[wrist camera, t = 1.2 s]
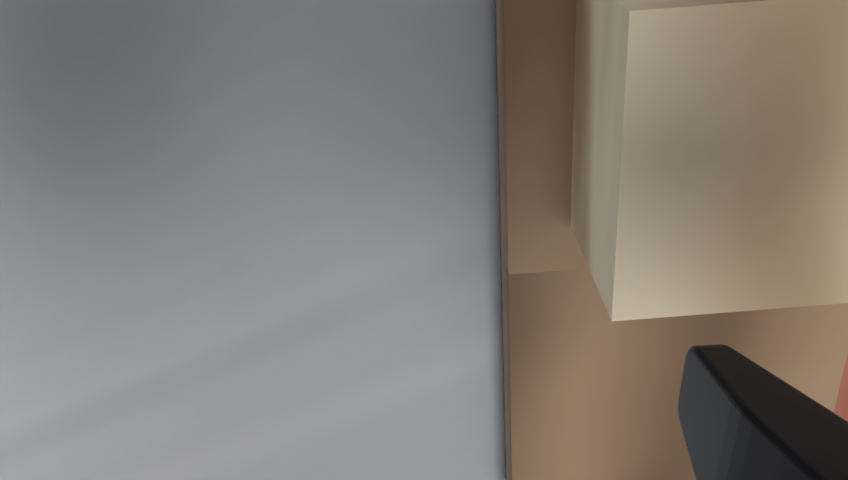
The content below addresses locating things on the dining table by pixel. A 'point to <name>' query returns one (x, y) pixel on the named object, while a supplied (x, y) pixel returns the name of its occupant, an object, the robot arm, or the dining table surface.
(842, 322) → the trap deck
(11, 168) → the dining table surface
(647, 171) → the birch block
